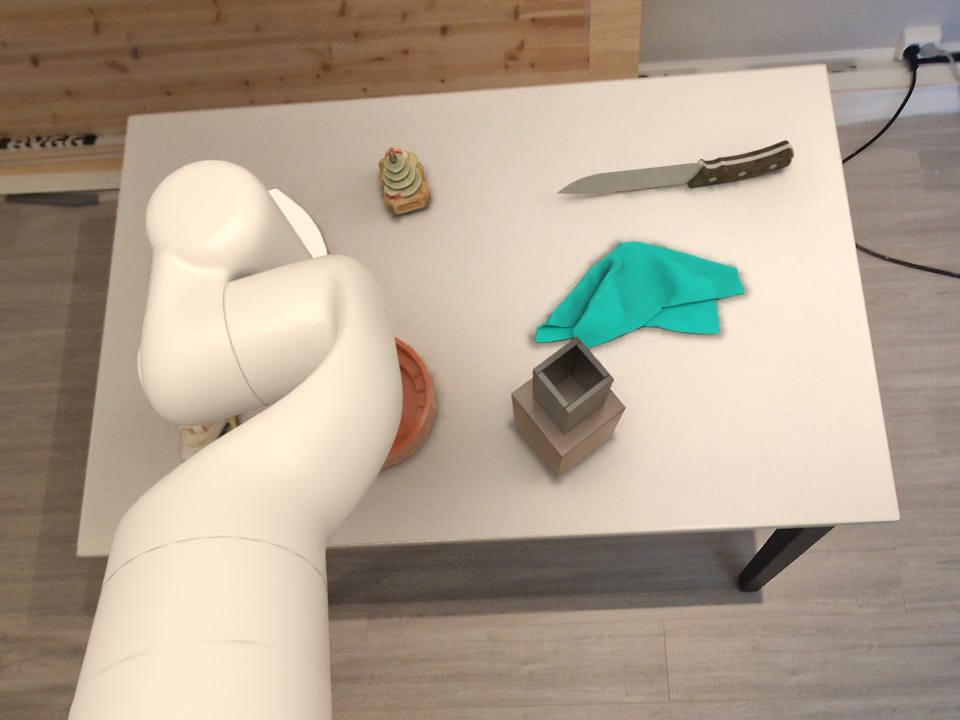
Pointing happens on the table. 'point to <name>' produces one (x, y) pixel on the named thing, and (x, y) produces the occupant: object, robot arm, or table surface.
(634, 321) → the cloth
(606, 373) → the utensil stand
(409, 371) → the bowl
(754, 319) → the table surface
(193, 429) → the mug
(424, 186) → the ornament
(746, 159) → the knife
